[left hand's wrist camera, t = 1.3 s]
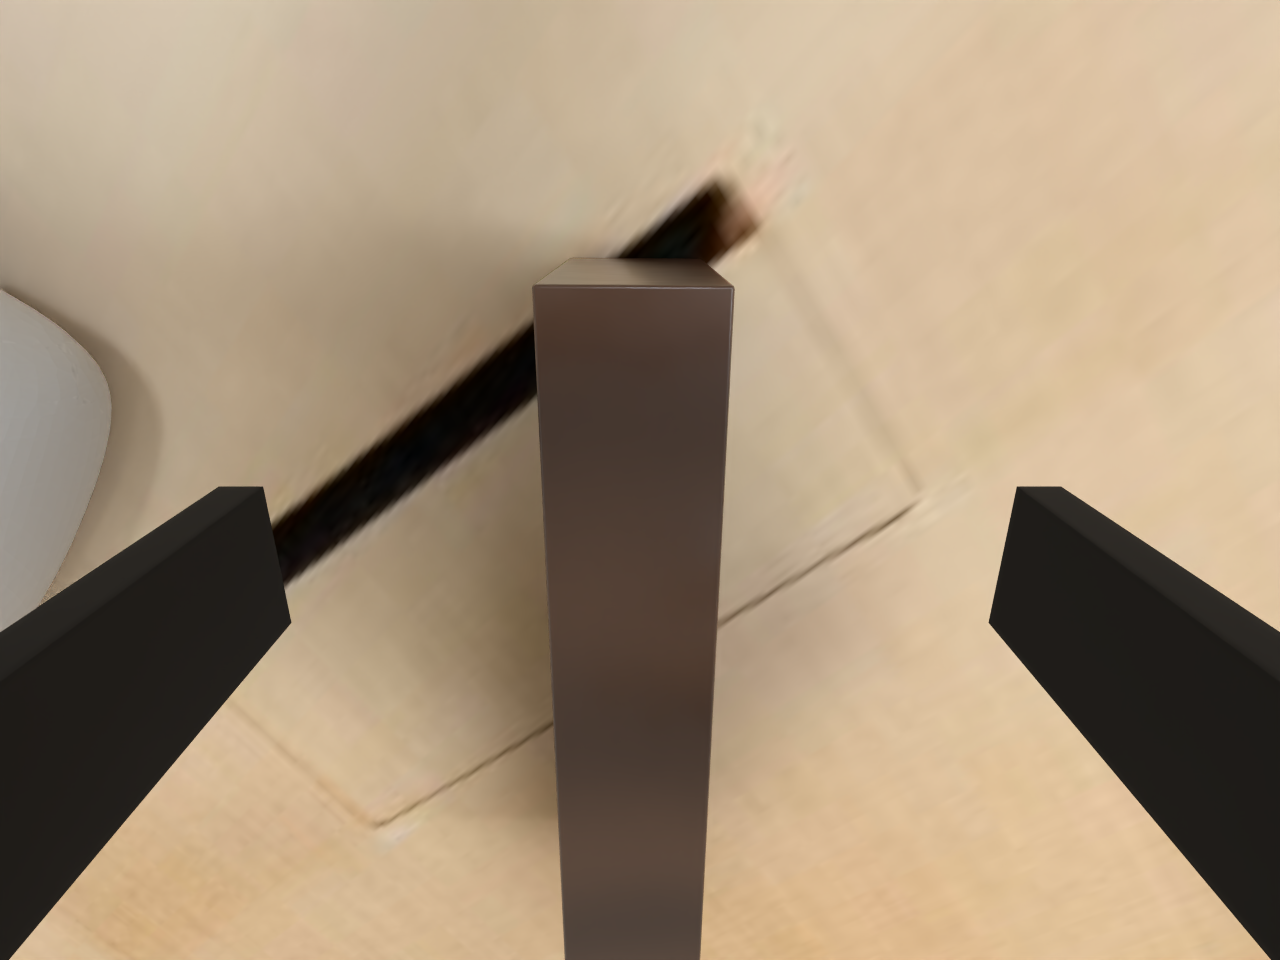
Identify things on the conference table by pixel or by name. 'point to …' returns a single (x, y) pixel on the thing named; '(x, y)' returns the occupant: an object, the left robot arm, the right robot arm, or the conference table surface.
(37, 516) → the projector
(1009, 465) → the conference table surface
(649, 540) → the beam
